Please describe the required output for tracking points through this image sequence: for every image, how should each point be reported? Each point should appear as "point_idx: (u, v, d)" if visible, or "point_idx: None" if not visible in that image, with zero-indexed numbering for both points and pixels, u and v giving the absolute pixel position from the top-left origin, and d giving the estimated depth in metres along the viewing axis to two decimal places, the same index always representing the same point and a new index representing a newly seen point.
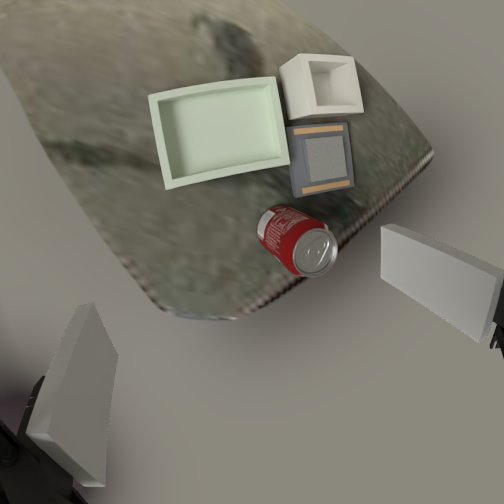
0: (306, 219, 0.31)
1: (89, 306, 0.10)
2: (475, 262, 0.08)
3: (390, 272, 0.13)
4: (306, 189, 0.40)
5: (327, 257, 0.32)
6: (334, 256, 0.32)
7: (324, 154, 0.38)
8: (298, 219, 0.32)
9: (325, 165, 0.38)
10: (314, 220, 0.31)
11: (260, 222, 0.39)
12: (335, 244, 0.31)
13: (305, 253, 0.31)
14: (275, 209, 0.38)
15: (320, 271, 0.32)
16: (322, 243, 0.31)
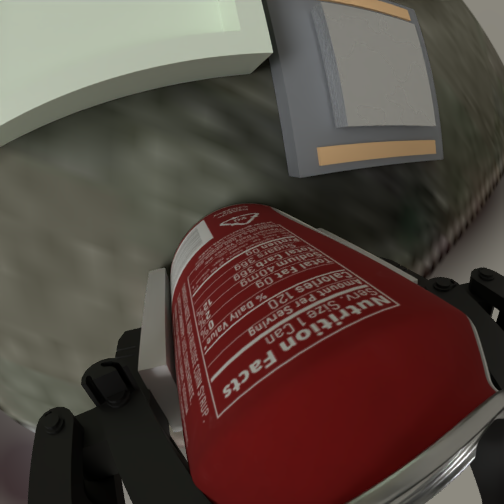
0: (384, 315, 0.04)
1: (163, 270, 0.12)
2: None
3: None
4: (331, 152, 0.12)
5: (437, 473, 0.04)
6: (460, 456, 0.04)
7: (380, 53, 0.10)
8: (319, 306, 0.04)
9: (385, 83, 0.10)
10: (437, 319, 0.03)
11: (173, 264, 0.11)
12: None
13: None
14: (221, 217, 0.10)
15: None
16: None
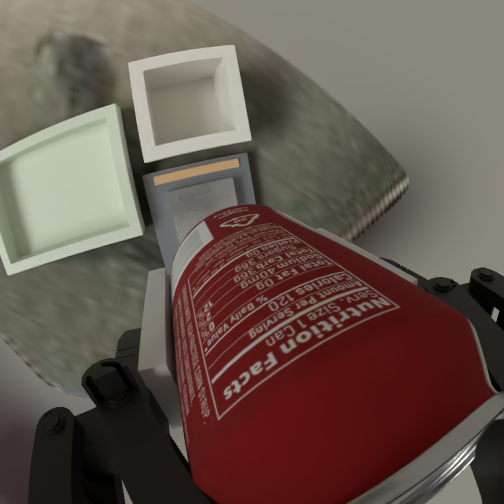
0: (384, 318, 0.04)
1: (163, 270, 0.12)
2: None
3: None
4: None
5: (437, 474, 0.04)
6: (459, 458, 0.04)
7: (201, 211, 0.26)
8: (320, 308, 0.04)
9: None
10: (437, 321, 0.03)
11: (173, 265, 0.11)
12: None
13: None
14: (221, 219, 0.10)
15: None
16: None
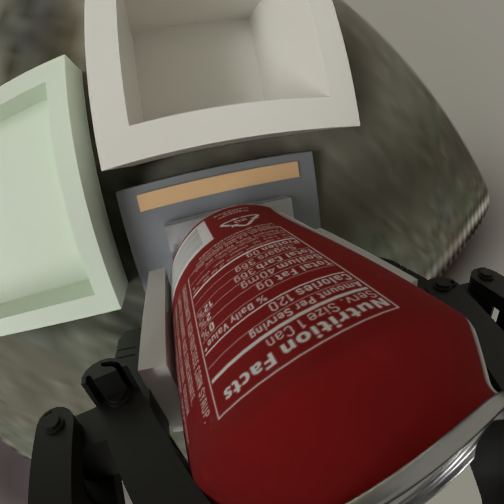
0: (383, 318, 0.04)
1: (163, 270, 0.12)
2: None
3: None
4: None
5: (436, 474, 0.04)
6: (459, 457, 0.04)
7: None
8: (320, 308, 0.04)
9: None
10: (436, 321, 0.03)
11: (173, 265, 0.11)
12: None
13: None
14: (222, 219, 0.10)
15: None
16: None
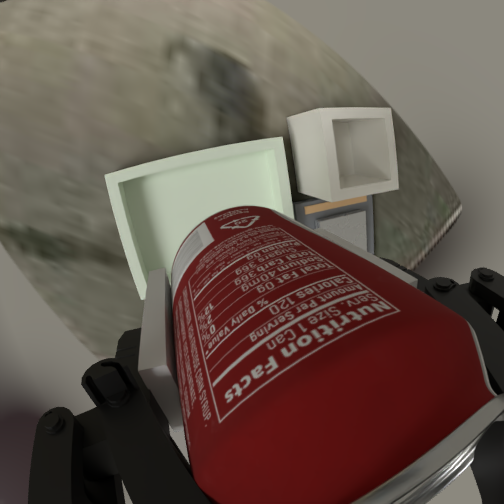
0: (384, 321, 0.04)
1: (163, 270, 0.12)
2: (385, 269, 0.09)
3: None
4: None
5: (436, 476, 0.04)
6: (459, 458, 0.04)
7: (342, 238, 0.30)
8: (320, 312, 0.04)
9: None
10: (437, 325, 0.03)
11: (174, 266, 0.11)
12: None
13: None
14: (222, 220, 0.10)
15: None
16: None
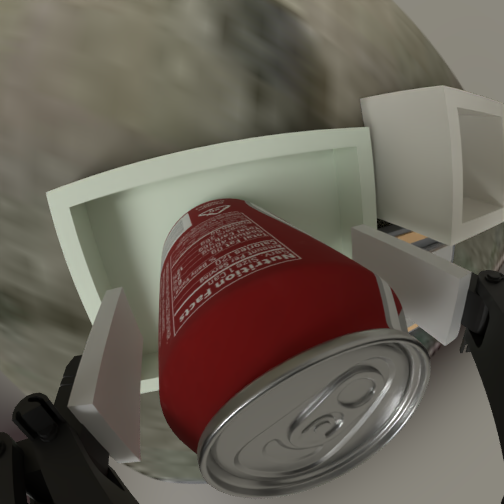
0: (285, 264, 0.06)
1: (119, 290, 0.11)
2: (440, 263, 0.08)
3: None
4: None
5: (375, 422, 0.06)
6: (400, 411, 0.06)
7: None
8: (245, 260, 0.06)
9: None
10: (331, 269, 0.05)
11: (163, 250, 0.13)
12: (421, 376, 0.05)
13: (273, 439, 0.05)
14: (201, 210, 0.12)
15: (339, 463, 0.06)
16: (367, 383, 0.05)
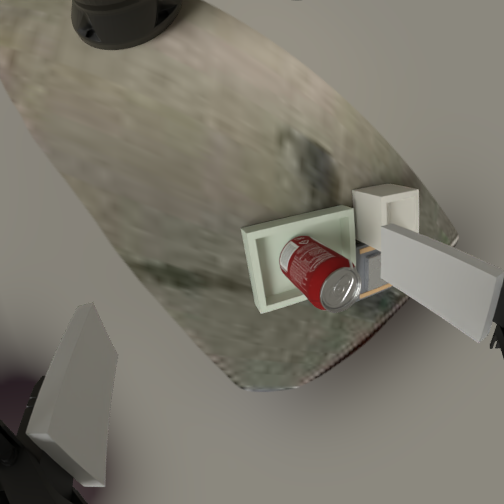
0: (332, 257, 0.32)
1: (89, 306, 0.10)
2: (475, 262, 0.08)
3: (390, 272, 0.13)
4: (363, 295, 0.47)
5: (351, 293, 0.32)
6: (357, 291, 0.32)
7: (380, 268, 0.45)
8: (324, 256, 0.32)
9: (380, 276, 0.46)
10: (340, 258, 0.32)
11: (282, 253, 0.39)
12: (359, 280, 0.32)
13: (331, 291, 0.31)
14: (298, 241, 0.39)
15: (344, 306, 0.32)
16: (347, 280, 0.31)
